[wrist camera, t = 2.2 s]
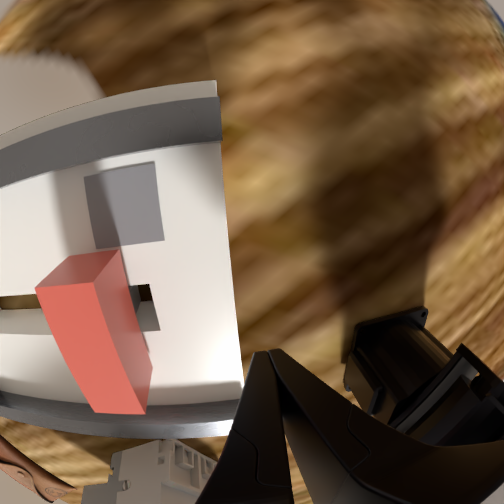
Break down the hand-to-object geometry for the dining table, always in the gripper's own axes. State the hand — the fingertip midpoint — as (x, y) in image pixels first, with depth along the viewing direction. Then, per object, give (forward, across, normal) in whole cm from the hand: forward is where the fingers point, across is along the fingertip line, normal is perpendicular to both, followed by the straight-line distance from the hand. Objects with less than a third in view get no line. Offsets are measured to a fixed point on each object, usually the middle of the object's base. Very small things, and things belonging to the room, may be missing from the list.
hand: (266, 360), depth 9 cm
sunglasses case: (+8, +34, +26) cm, 44 cm away
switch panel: (+7, +11, 0) cm, 13 cm away
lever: (+6, +6, 0) cm, 9 cm away
